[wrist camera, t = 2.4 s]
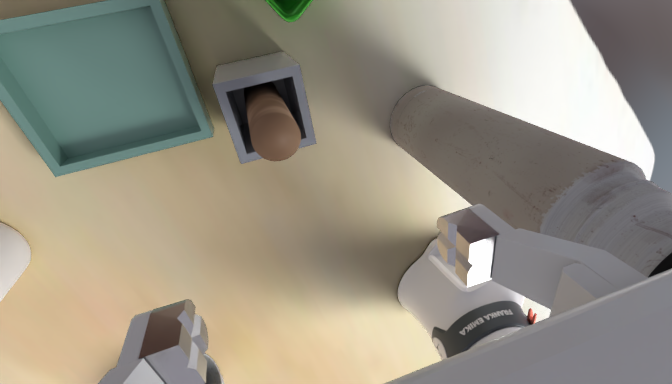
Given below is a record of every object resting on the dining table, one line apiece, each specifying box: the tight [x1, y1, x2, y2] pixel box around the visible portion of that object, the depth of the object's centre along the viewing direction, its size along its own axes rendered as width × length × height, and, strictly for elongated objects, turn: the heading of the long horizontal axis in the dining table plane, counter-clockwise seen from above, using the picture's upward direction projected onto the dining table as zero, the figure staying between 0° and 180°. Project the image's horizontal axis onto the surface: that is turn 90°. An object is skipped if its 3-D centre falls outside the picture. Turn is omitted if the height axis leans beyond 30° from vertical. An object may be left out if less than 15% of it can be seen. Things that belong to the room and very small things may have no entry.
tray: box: [0, 0, 214, 177], centre depth 28 cm, size 14×12×2 cm
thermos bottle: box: [390, 86, 672, 278], centre depth 28 cm, size 8×8×28 cm
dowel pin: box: [244, 81, 301, 161], centre depth 26 cm, size 3×3×13 cm
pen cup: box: [212, 51, 317, 164], centre depth 29 cm, size 6×6×9 cm
